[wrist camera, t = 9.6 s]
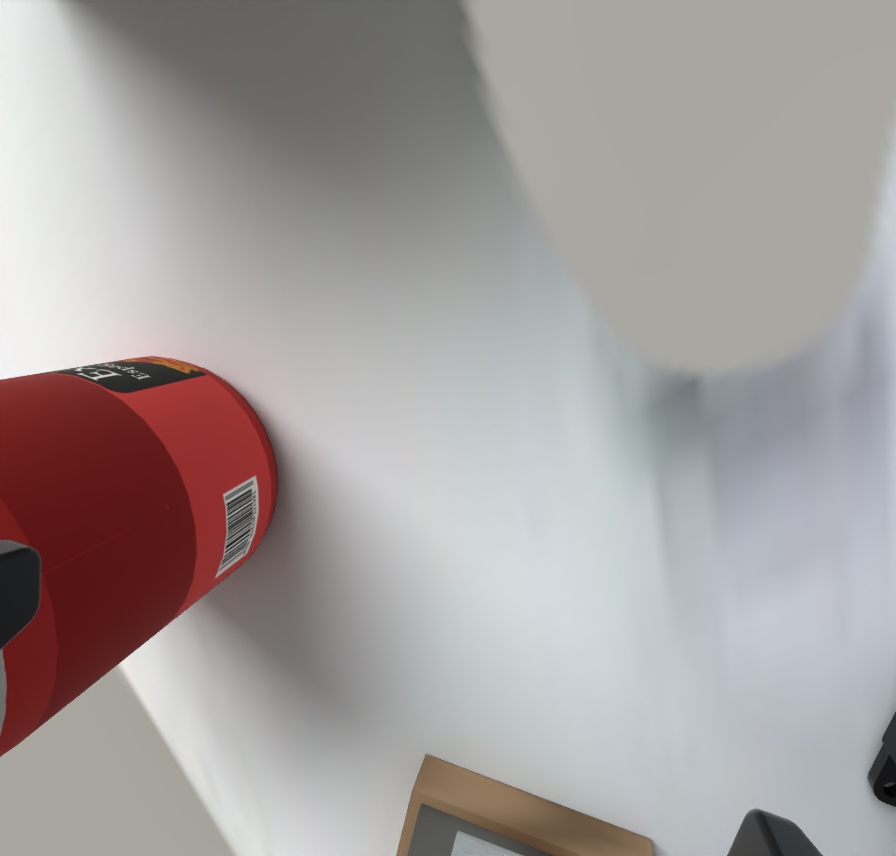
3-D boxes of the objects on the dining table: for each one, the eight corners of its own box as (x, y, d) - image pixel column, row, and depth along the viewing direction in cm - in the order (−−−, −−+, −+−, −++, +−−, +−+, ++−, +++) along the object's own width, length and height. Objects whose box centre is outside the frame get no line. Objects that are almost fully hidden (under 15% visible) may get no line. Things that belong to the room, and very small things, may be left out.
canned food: (209, 312, 20) (-214, 347, 10) (327, 524, 21) (52, 768, 10) (55, 411, 23) (-414, 525, 12) (167, 598, 23) (-186, 856, 13)
